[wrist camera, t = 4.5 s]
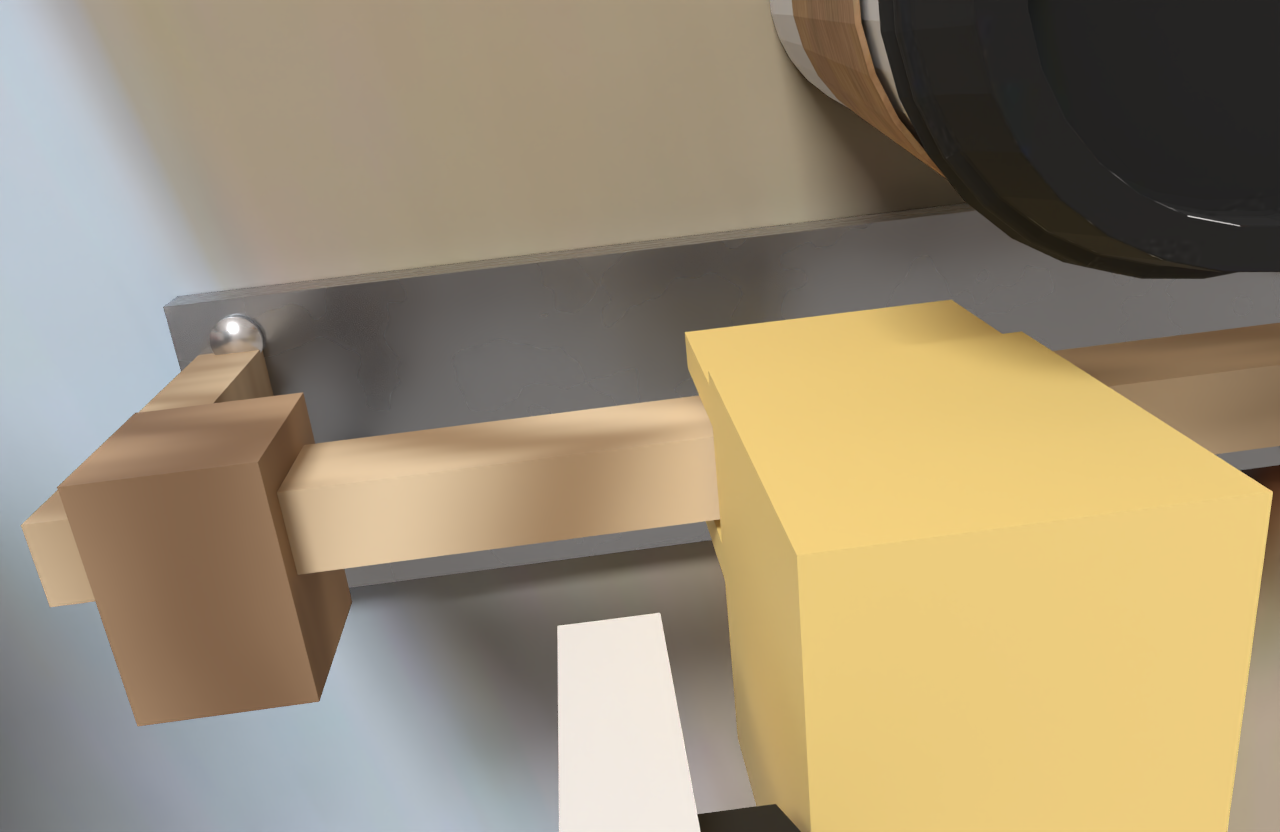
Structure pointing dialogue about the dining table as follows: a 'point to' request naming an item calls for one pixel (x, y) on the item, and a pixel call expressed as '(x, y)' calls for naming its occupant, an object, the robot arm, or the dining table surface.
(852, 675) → the slider head
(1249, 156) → the coffee cup
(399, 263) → the dining table surface
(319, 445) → the bar
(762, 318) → the hole plate
